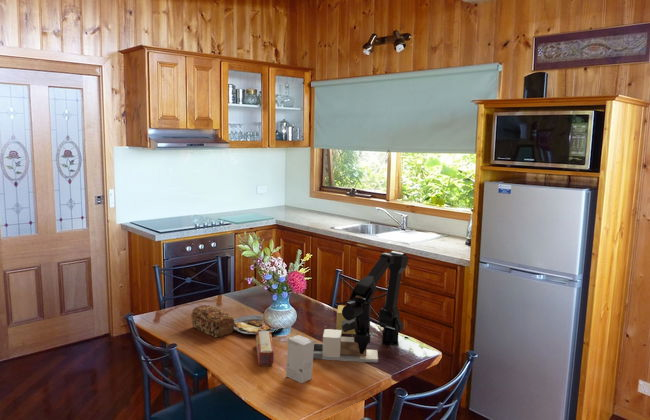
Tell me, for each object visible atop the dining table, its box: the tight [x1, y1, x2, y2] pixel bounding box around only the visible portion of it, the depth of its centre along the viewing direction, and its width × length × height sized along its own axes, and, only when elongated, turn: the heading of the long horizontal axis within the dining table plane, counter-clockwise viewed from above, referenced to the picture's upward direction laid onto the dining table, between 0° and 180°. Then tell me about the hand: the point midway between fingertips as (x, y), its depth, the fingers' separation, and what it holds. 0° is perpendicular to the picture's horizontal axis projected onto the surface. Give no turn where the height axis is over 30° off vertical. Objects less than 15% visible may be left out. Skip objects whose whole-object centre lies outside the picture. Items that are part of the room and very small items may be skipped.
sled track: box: [313, 328, 379, 364], centre depth 217 cm, size 27×10×9 cm, turn 86°
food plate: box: [233, 314, 275, 336], centre depth 245 cm, size 25×23×4 cm
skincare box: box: [285, 334, 315, 384], centre depth 196 cm, size 8×6×15 cm
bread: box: [190, 304, 235, 338], centre depth 240 cm, size 19×11×10 cm, turn 47°
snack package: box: [255, 331, 275, 367], centre depth 215 cm, size 21×7×7 cm, turn 9°
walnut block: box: [340, 336, 368, 356], centre depth 217 cm, size 14×5×6 cm, turn 86°
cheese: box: [335, 304, 356, 335], centre depth 245 cm, size 10×11×10 cm
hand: (361, 351), depth 217 cm, fingers closed on walnut block, 5 cm apart
